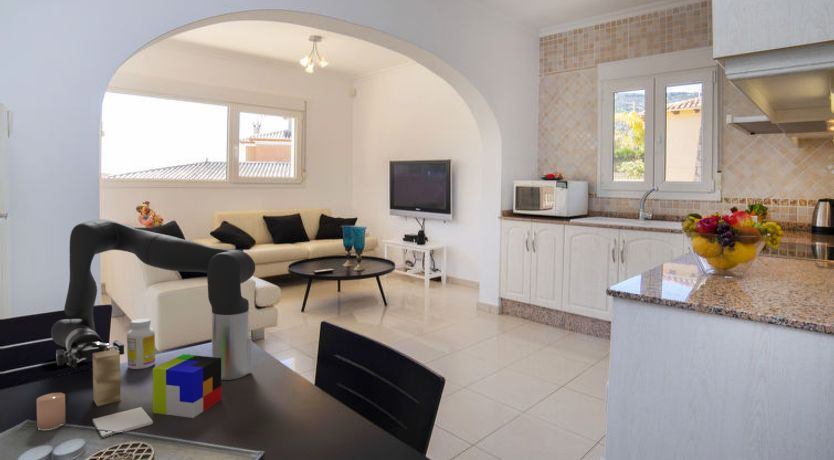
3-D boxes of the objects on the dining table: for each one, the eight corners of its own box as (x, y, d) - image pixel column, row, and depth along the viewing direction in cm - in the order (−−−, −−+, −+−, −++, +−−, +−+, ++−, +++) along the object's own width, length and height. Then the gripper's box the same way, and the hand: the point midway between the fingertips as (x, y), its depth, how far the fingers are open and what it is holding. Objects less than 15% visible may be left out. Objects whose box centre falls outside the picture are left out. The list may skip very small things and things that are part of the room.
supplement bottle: (157, 361, 137) (156, 317, 136) (152, 368, 131) (152, 322, 130) (130, 362, 135) (130, 318, 134) (124, 371, 129) (124, 324, 128)
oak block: (115, 394, 113) (115, 349, 113) (120, 400, 110) (119, 354, 109) (93, 399, 110) (92, 353, 109) (97, 406, 107) (96, 358, 106)
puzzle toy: (193, 418, 102) (193, 372, 102) (153, 413, 104) (152, 368, 104) (221, 399, 112) (221, 358, 112) (183, 395, 114) (183, 354, 114)
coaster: (141, 409, 106) (141, 406, 106) (152, 423, 99) (152, 421, 99) (92, 421, 99) (92, 419, 99) (101, 438, 93) (101, 435, 93)
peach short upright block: (63, 418, 101) (63, 390, 100) (67, 426, 97) (66, 397, 97) (36, 425, 97) (35, 396, 97) (38, 433, 94) (37, 403, 94)
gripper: (51, 335, 124) (60, 350, 112) (114, 326, 134) (128, 339, 122) (51, 363, 125) (60, 381, 113) (114, 352, 134) (129, 368, 123)
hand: (96, 359), depth 118 cm, fingers open, 8 cm apart
